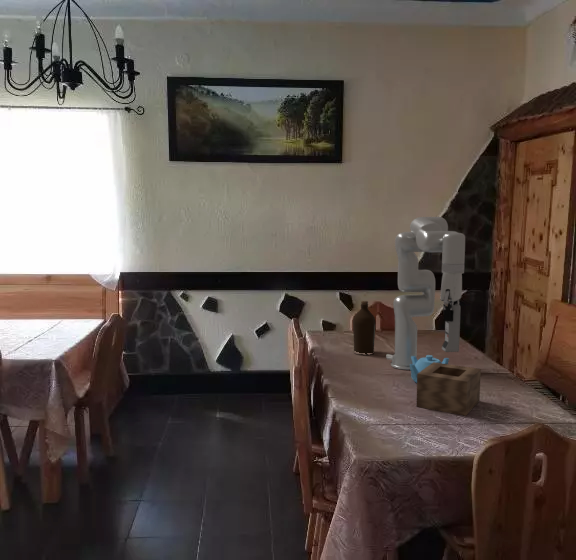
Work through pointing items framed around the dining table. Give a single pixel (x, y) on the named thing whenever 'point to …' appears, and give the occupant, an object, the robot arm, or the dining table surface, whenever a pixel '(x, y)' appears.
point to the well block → (448, 388)
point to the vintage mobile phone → (452, 331)
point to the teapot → (423, 364)
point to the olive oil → (364, 330)
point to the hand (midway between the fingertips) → (451, 319)
